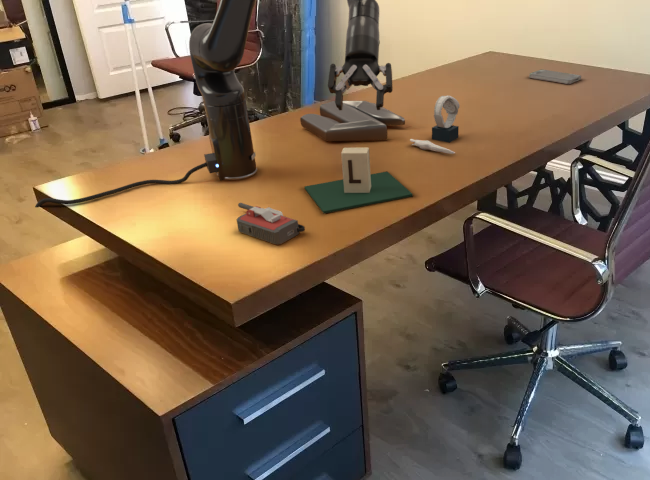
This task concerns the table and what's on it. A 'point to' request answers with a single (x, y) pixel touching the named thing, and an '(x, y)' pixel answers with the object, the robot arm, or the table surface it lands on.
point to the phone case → (555, 76)
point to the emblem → (351, 121)
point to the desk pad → (335, 199)
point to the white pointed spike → (430, 146)
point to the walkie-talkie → (267, 224)
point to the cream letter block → (356, 170)
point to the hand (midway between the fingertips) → (359, 108)
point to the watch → (446, 129)
